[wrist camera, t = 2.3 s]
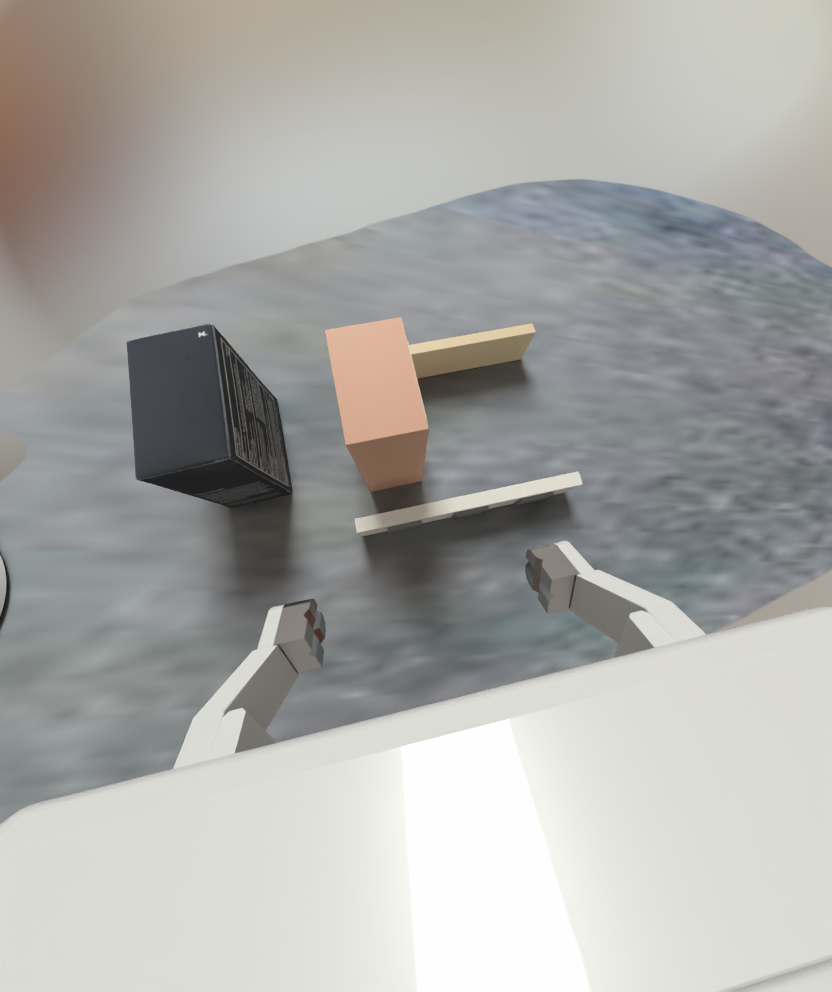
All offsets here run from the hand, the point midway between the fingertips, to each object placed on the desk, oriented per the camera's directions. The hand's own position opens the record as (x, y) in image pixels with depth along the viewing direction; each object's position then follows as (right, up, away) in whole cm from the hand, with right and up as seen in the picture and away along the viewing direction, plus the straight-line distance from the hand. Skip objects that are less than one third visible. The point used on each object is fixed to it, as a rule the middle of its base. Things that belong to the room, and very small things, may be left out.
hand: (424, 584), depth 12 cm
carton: (-3, +8, +19) cm, 21 cm away
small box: (-16, +8, +19) cm, 26 cm away
